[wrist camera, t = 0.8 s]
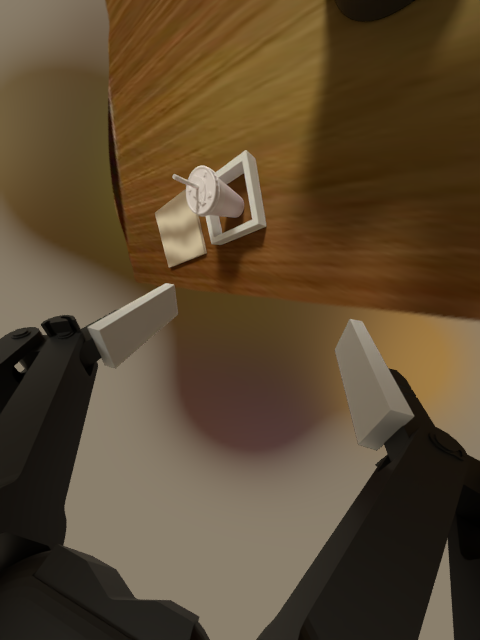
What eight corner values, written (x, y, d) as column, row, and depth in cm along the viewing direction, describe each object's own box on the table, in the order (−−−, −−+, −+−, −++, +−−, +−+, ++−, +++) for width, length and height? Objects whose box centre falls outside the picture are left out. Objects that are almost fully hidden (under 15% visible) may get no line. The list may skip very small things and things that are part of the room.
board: (157, 213, 48) (154, 212, 47) (192, 187, 39) (189, 186, 39) (171, 267, 50) (168, 267, 49) (206, 253, 42) (204, 253, 41)
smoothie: (243, 179, 33) (181, 135, 22) (254, 213, 33) (199, 189, 22) (219, 200, 37) (155, 173, 26) (229, 231, 37) (170, 218, 26)
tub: (209, 189, 37) (198, 184, 35) (255, 158, 31) (246, 149, 28) (220, 245, 39) (211, 243, 37) (266, 226, 33) (258, 223, 30)
